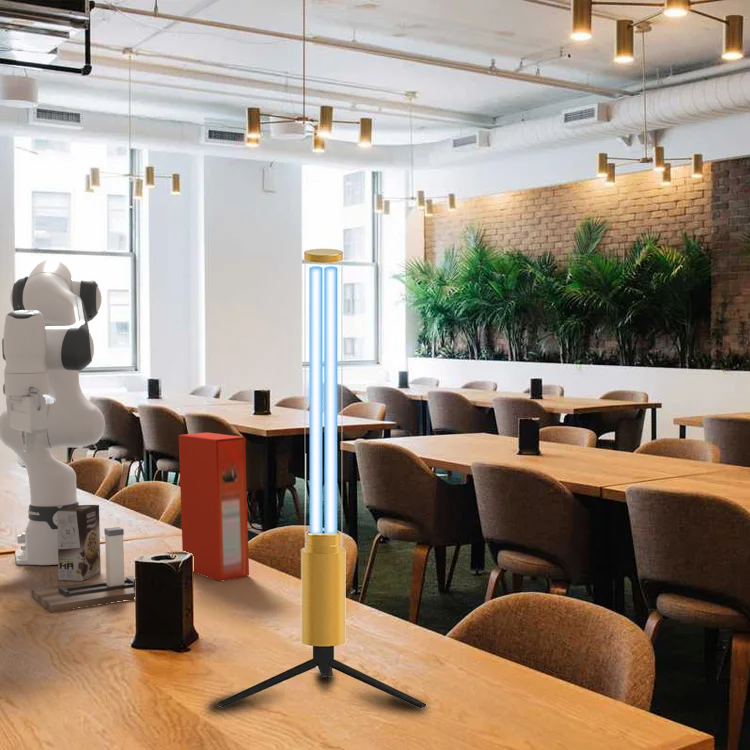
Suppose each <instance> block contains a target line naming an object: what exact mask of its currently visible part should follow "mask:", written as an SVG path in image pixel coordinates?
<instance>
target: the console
mask: <svg viewBox="0 0 750 750" xmlns="http://www.w3.org/2000/svg"><path fill="white" fill-rule="evenodd" d="M134 577H135V576H134V575H128V576H124V585H118V586H111V587H109V586H108V585H106V578H104V579H98V580H93V581H91V580H90V581H85V582H84V581H82V582H76V583H70V584H63V585H55V586H49V587H48V586H47V587H41V588H33V589H31V597H32V598H33V597H34V598H35V599H34V598H33V599H34V600H36V601H37V602H38V603H39V604H40V605H41V606H43V608H45V609H46V608H47V609H48V612H50V613H56V611H58V612H62V611H61V610H65V611H68V610H67V609H71V610H74V609H73V608H78V607H85V608H87V607H86V606H92V607H94V606H93V605H98V604H105V605H107V604H106V603H111V602H117V601H123V600H132V601H135V600H134V597H135V579H134ZM98 606H99V605H98ZM47 609H46V610H47ZM78 609H79V608H78Z"/></svg>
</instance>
